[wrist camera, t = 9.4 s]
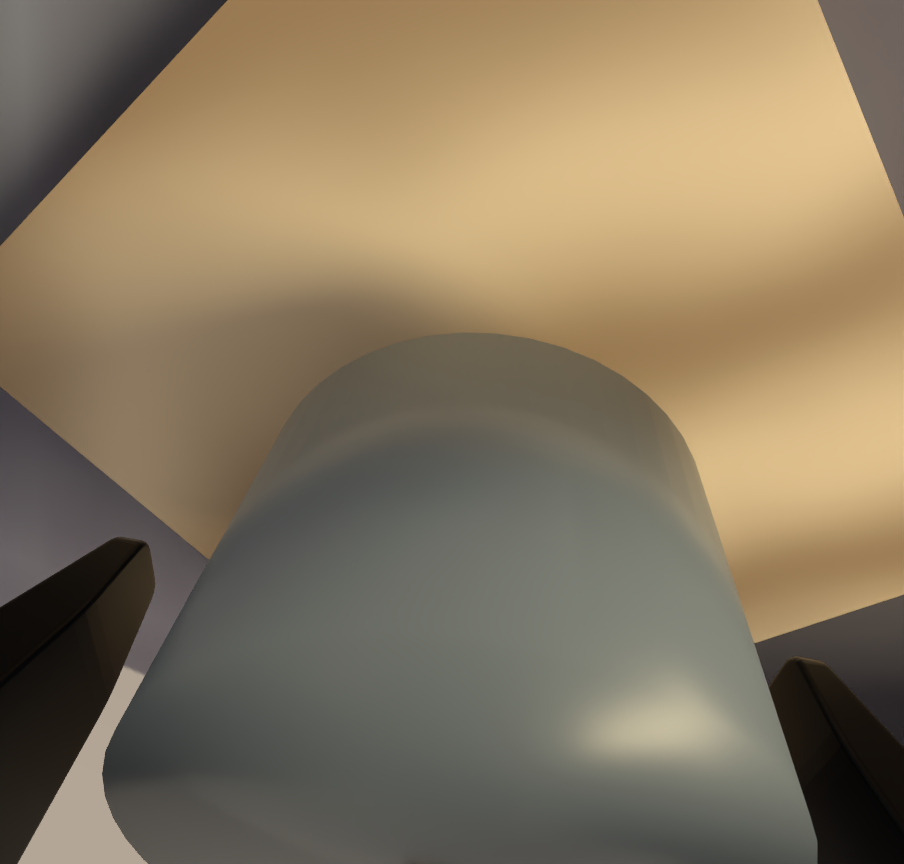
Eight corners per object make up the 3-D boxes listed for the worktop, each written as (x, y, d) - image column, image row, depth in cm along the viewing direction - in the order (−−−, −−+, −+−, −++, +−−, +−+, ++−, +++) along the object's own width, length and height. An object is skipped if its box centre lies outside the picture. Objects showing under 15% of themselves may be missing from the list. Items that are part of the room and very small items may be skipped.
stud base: (993, 501, 14) (1120, 648, 11) (441, 700, 20) (424, 831, 17) (624, -382, 8) (681, -613, 5) (-20, 294, 14) (-179, 386, 11)
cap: (271, 285, 9) (24, 576, 5) (786, 390, 9) (1013, 773, 5) (265, 623, 13) (131, 945, 9) (620, 693, 13) (662, 1046, 9)
